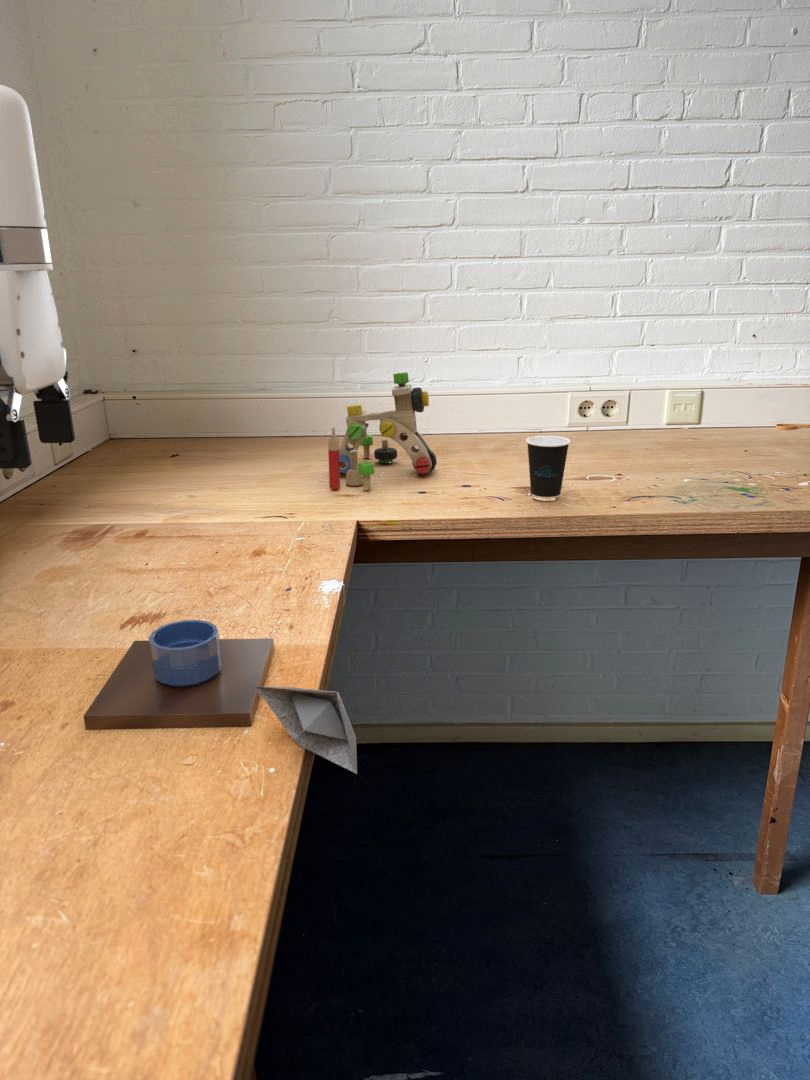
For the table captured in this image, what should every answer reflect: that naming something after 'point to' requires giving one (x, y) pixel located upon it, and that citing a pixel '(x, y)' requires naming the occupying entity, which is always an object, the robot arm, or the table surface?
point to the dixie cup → (547, 465)
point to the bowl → (185, 652)
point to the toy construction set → (390, 426)
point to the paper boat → (315, 722)
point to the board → (183, 691)
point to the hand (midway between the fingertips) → (36, 454)
